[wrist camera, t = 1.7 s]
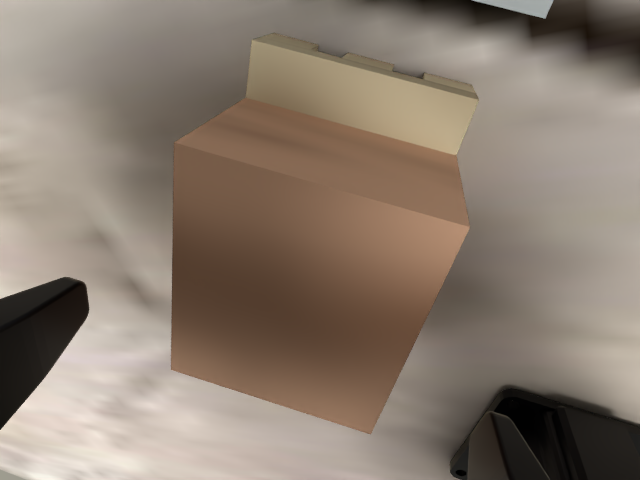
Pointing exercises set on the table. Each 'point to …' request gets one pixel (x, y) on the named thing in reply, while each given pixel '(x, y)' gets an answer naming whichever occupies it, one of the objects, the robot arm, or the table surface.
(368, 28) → the table surface
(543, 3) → the dock
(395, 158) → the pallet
